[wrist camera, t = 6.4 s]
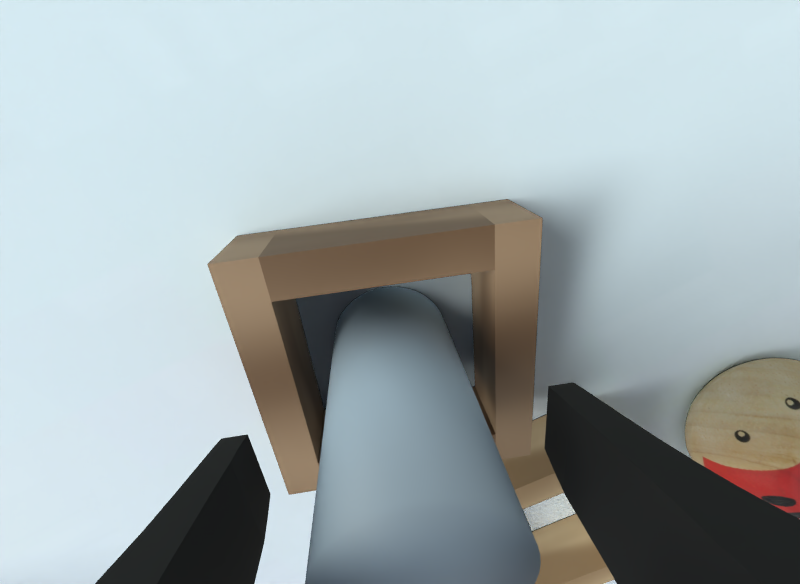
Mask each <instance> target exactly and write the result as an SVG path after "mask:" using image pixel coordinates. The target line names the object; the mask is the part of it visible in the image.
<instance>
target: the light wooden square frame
mask: <svg viewBox="0 0 800 584" xmlns="http://www.w3.org/2000/svg"><path fill="white" fill-rule="evenodd" d="M546 417H547V415H545V416H542V417H540V418H538V419H535V420H533V421H532V434H531V454H530V455H526V456H520V457H514V458H508V459H502V461H503V463H504V466H505V468H506V471H507V473H508V475H509V478H510V480H511V483H512V485H513V487H514V490H515V492H516V495H517V497H518V499H519V502H520V504H521V507H522V509H525V508H527V507H530V506H532V505H535V504H537V503H540V502H542V501H544V500H547V499H549V498H552V497H554V496H557V495H559V494H561V493H564V491H563V489H562V487H561V485H560V483H559V481H558V479H557V476H556V474H555V472H554V470H553V467H552V465H551V463H550V460H549V458H548V456H547V453H546V451H545V449H544V446H545V432H546ZM532 533H533V535H534V538H535V540H536V543H537V545H538V548H539V552H540V559H541V565H540V571H539V575H538V577H537V580H536V582H535V584H604V583H606V582H609V581H612V580H614V577H613V576H612V574H611V572H610V571H609V569H608V567H607V565H606V564H605V562H604V560H603V559H602V557H601V555H600V554H599V552H598V550H597V548H596V547H595V545H594V543H593V542H592V540H591V538H590V536H589V535H588V533H587V531H586V530H585V528H584V526H583V525H582V523H581V521H580V519H579V518H578V516H577V514H575V515H572V516H570V517H567V518H565V519H562V520H560V521H557V522H555V523H552V524H550V525H547V526H545V527H542V528H540V529H538V530H535V531H533V532H532Z"/></svg>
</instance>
